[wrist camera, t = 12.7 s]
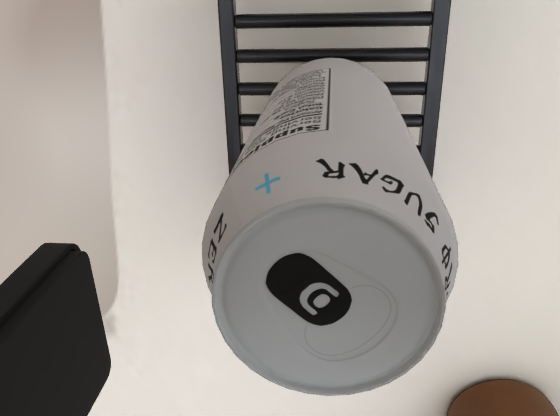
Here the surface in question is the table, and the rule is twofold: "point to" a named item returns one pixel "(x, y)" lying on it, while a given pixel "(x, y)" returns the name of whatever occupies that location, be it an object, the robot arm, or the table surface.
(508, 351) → the table surface
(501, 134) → the table surface
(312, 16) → the rack
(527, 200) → the table surface
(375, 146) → the energy drink can
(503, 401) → the mug
